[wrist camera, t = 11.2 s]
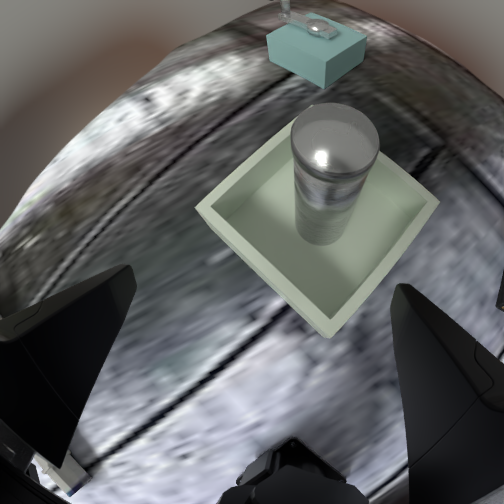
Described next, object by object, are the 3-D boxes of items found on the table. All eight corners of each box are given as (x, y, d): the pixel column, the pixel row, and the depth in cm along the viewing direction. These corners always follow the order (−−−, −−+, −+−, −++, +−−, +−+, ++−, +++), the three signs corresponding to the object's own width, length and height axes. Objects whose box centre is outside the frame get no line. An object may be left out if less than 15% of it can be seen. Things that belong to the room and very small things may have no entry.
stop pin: (357, 220, 23) (396, 135, 12) (322, 258, 22) (345, 191, 12) (317, 187, 24) (327, 89, 13) (282, 222, 23) (271, 135, 13)
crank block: (363, 61, 29) (367, 36, 25) (324, 89, 28) (325, 62, 24) (311, 35, 31) (311, 12, 27) (269, 60, 30) (266, 35, 26)
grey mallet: (61, 503, 16) (-56, 319, 20) (90, 478, 23) (-21, 320, 26) (81, 488, 17) (-44, 290, 20) (111, 461, 23) (-8, 294, 27)
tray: (419, 223, 23) (440, 201, 18) (323, 337, 21) (330, 338, 17) (311, 136, 26) (312, 104, 22) (211, 229, 25) (194, 207, 21)
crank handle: (345, 30, 25) (348, -4, 20) (318, 46, 24) (318, 9, 20) (296, 11, 27) (294, -21, 22) (267, 26, 26) (262, -8, 22)
